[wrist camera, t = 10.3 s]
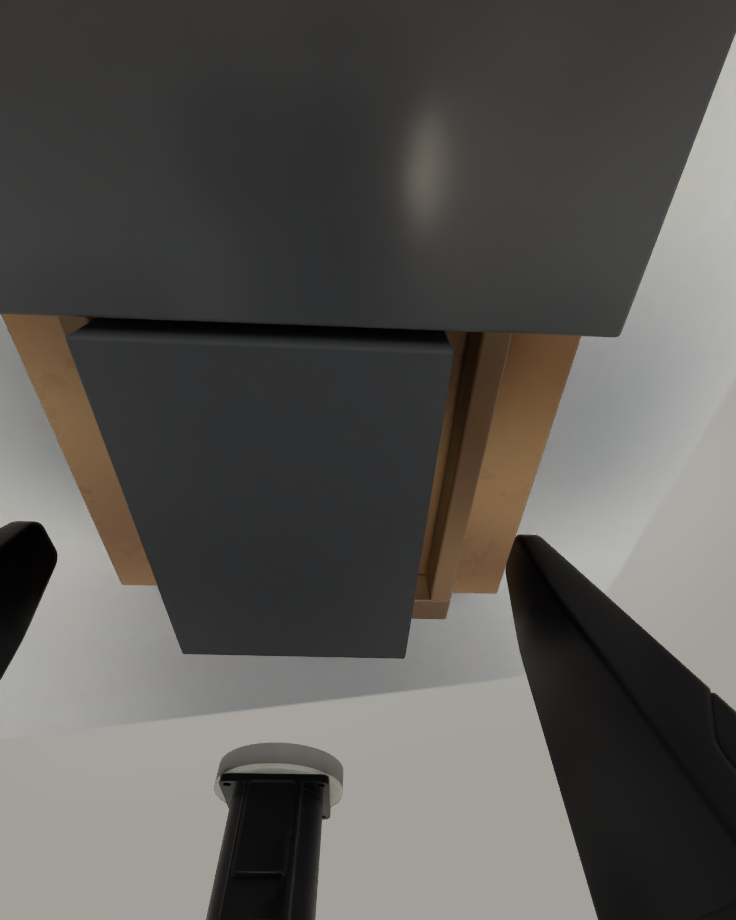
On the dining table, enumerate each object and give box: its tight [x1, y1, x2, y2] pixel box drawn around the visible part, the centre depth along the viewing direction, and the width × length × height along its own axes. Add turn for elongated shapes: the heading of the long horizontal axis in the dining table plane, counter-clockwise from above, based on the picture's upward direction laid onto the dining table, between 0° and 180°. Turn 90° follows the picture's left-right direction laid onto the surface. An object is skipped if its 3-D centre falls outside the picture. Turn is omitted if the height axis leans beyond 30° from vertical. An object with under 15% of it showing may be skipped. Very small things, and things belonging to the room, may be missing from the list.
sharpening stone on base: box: [0, 0, 736, 619], centre depth 8 cm, size 18×12×4 cm, turn 178°
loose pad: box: [66, 318, 454, 659], centre depth 10 cm, size 8×6×3 cm
